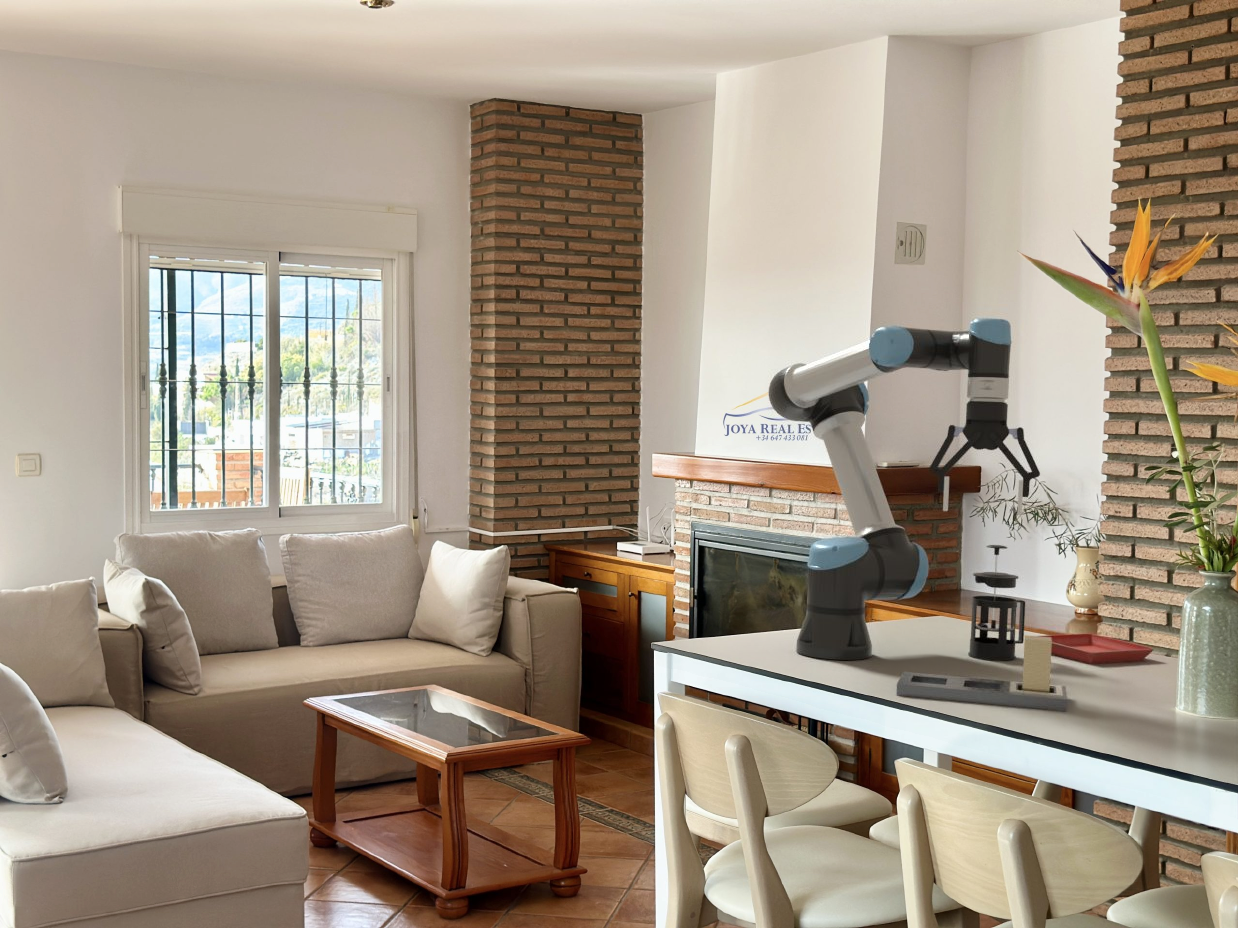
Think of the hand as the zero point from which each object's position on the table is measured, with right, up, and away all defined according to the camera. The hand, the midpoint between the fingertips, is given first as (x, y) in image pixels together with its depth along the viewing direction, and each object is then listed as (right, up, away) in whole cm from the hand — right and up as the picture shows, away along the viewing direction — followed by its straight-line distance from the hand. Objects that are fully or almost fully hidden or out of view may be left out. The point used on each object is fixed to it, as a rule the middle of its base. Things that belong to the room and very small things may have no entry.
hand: (982, 512), depth 252 cm
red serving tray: (+30, -32, +26) cm, 51 cm away
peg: (+3, -32, -23) cm, 39 cm away
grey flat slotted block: (-6, -31, -21) cm, 38 cm away
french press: (+8, -31, +20) cm, 37 cm away
